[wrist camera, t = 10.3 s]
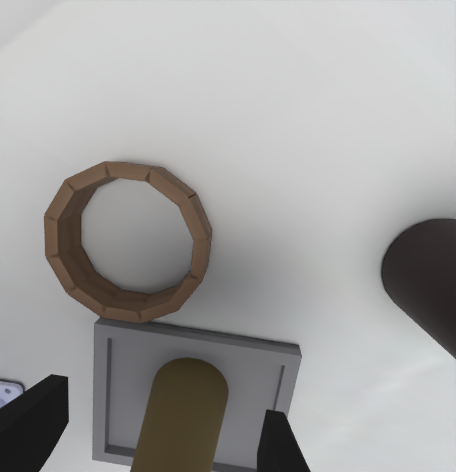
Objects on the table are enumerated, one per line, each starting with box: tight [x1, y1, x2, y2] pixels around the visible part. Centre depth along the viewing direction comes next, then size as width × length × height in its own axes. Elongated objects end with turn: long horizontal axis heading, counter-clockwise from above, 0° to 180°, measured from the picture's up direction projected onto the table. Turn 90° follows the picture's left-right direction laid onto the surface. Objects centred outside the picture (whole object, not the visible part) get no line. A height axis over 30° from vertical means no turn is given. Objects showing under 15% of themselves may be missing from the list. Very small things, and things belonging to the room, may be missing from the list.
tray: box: [92, 316, 302, 472], centre depth 22 cm, size 15×13×1 cm
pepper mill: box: [130, 357, 229, 472], centre depth 16 cm, size 6×6×11 cm
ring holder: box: [44, 161, 212, 323], centre depth 18 cm, size 10×10×2 cm
